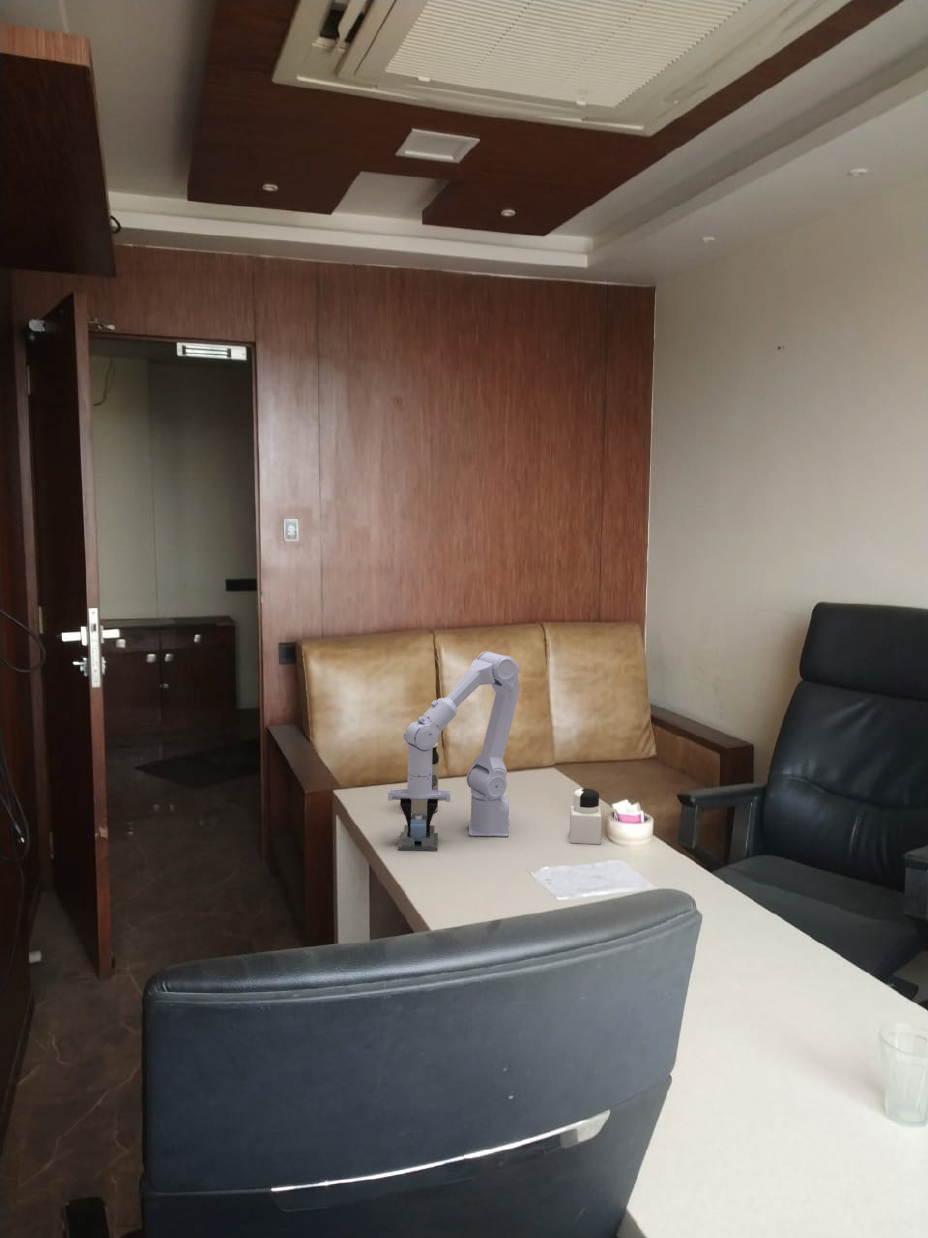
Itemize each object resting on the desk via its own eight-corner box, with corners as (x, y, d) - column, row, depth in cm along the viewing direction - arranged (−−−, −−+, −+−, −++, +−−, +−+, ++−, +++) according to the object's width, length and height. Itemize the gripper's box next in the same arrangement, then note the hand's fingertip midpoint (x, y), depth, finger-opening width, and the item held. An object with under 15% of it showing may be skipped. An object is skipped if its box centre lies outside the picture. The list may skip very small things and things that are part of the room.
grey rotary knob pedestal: (598, 834, 215) (600, 787, 214) (600, 845, 208) (602, 796, 207) (569, 833, 216) (571, 785, 215) (570, 843, 209) (572, 794, 207)
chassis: (438, 836, 212) (438, 824, 211) (437, 851, 202) (437, 839, 201) (400, 835, 211) (401, 824, 211) (398, 850, 201) (398, 838, 201)
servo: (426, 831, 210) (427, 808, 210) (425, 843, 203) (426, 818, 202) (411, 831, 210) (412, 808, 210) (410, 842, 203) (410, 818, 202)
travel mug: (402, 807, 232) (404, 741, 230) (430, 804, 236) (431, 738, 234) (414, 816, 225) (415, 748, 223) (442, 813, 228) (443, 745, 227)
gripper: (451, 769, 209) (449, 824, 210) (390, 768, 209) (389, 823, 210) (450, 778, 202) (449, 835, 203) (387, 776, 202) (387, 833, 203)
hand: (418, 830), depth 206 cm, fingers closed on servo, 3 cm apart
